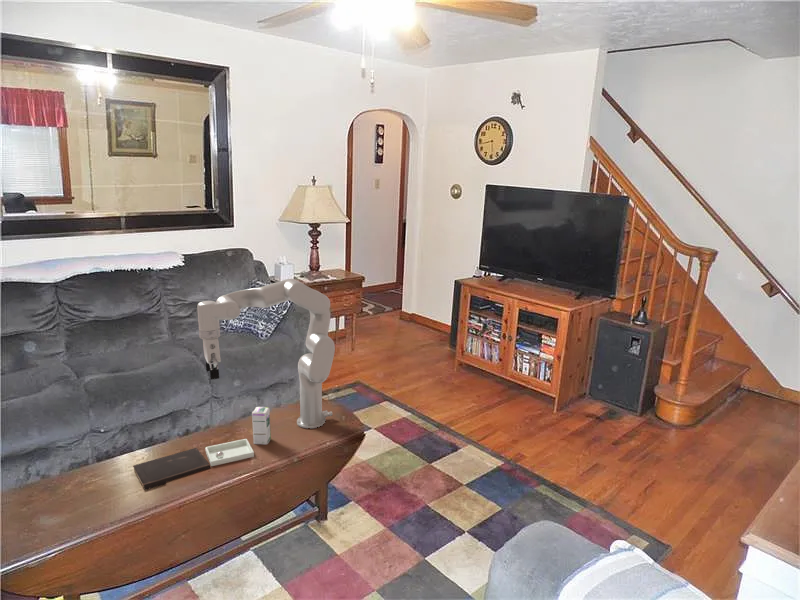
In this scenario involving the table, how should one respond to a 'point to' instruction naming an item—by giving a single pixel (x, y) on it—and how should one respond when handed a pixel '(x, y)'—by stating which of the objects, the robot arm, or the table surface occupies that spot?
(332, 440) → the table surface
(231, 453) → the tray
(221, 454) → the mixing ball
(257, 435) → the syrup box
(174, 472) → the hardcover book
